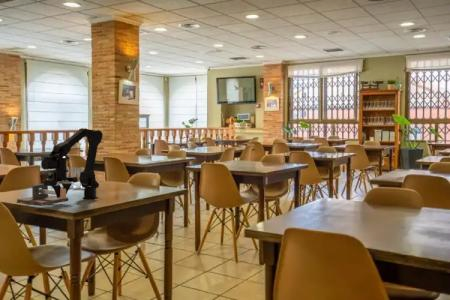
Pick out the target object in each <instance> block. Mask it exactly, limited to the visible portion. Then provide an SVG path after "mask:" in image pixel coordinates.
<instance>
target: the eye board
mask: <svg viewBox="0 0 450 300" xmlns="http://www.w3.org/2000/svg"><path fill="white" fill-rule="evenodd" d="M31 187H32V190H31V191H32V195H31V196H28V197H23V198H17V199H16V203H21V202H22V204H30V205H36V204H37V205H39V206H45V205H50V204H56V203H62V202H65V201H69V197H67V196H66V198H61V199H59V198H57V197H56V195H51V194H43V193H39V189H46V190H49V186H47V185H44V183H40V184H33V185H31ZM37 205H36V206H37Z"/></svg>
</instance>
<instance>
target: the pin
mask: <svg viewBox="0 0 450 300" xmlns="http://www.w3.org/2000/svg"><path fill="white" fill-rule="evenodd" d="M41 193H43V194H48V195H51V196H56V197H57V195H56V193H55V190H54V189H48V190H46V189H42V188H40V189H39V194H41ZM66 197H67V194H66V188H63V187H61V190H60V196H59V199H61V198H66ZM57 198H58V197H57Z"/></svg>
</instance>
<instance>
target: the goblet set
mask: <svg viewBox="0 0 450 300" xmlns="http://www.w3.org/2000/svg"><path fill="white" fill-rule="evenodd" d="M66 169H67V170H68V172H67V177H69V174H70V175H71V177H76V175H77V177H78V179H79V178H80V172H83V171H84V170H85V166H84V167H83V166H81V167H79V166H77V167H76V166H71V167H69V166H66ZM72 183H73V184H72V185H71V186H70V188H76V187H77V188H83V187H82V185H81V183H80V182H79V185H80V186H76V185H75V182H72ZM60 185H61V187H63V186H62V184H60Z"/></svg>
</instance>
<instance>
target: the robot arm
mask: <svg viewBox="0 0 450 300" xmlns="http://www.w3.org/2000/svg"><path fill="white" fill-rule="evenodd" d="M84 138H86V140H87V144H88V147H87V148H88V149H87V154H86V161H85V166H84V171H83V172H80V178H79V177H78V176H75V177H72V176H68V177H67V172H68V170H67V169H66V167H67V160H71V159H70V156H68V154H69V153H70V152H71V149H72V148H73V147H74V146H75V145H76V144H78V142H80V141H81V140H82V139H84ZM102 139H103V133H102V131H101V130H99V129H88V128H86V127H85V128H83V127H82V128H79V129H78V130H77V131H76V132H75V133H74V134H72V135H70V137H68V138H67V139H66V140H64V141H62V142H60V143H59V142H58V143H57V144H55V145H54V146H53V147H52V151H51V152H50V154H49V156H44V157H43V159H42V160H41V162H40V166H41V168H42V169H43V170H44V171H45V170H46V171H47V170H53V172H52V173H51V172H46V173H45V176H44V177H45V179H44V181H43V184H44V185H47V186H48V187H52V190H55V193H56V195H57V197H58V198H59V196H60V190H61V188H66V195H67V194H68V192H69V190H70V188H71V186H73V182H74V183H78V181H79V184H80V183H81V186H82V187H81V188H84V191H83V197H82V199H85V200H93V199H98V198H99V196H97V189H98V188H99V186H100V184H99V182H98V181H97V180H96V173H95V164H96V158H97V154H98V153H97V151H98V147H99V145H100V143H102ZM77 177H78V178H77ZM78 179H79V180H78ZM61 185H62V186H61ZM56 195H55V196H56Z"/></svg>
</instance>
